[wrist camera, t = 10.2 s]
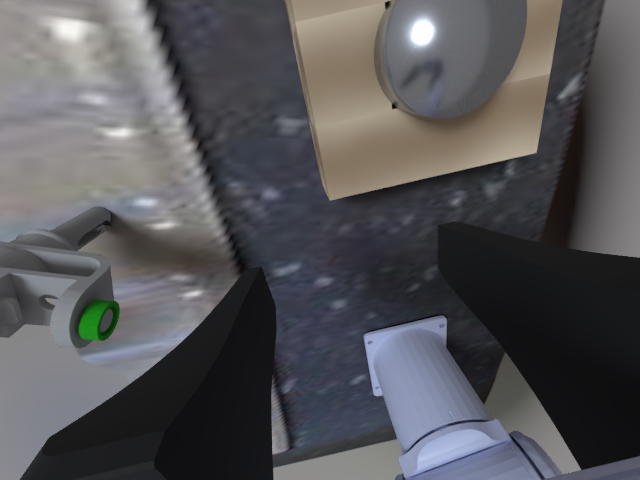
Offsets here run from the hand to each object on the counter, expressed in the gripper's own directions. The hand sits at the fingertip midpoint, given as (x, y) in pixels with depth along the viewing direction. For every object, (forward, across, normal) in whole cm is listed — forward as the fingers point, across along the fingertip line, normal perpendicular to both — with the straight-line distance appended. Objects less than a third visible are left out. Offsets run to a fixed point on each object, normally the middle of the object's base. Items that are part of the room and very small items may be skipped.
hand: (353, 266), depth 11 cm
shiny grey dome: (+9, -6, -7) cm, 13 cm away
